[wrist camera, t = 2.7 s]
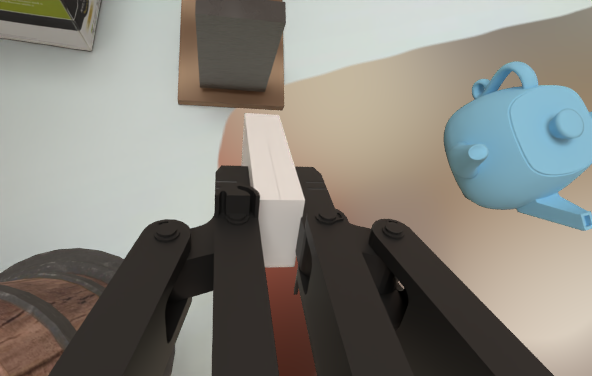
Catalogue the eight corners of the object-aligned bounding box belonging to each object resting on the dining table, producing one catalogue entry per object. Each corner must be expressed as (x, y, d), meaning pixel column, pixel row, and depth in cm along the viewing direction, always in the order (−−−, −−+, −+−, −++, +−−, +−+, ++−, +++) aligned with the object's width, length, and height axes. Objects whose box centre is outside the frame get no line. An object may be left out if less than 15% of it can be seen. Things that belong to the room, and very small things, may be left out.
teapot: (510, 254, 42) (614, 248, 31) (402, 184, 41) (471, 152, 30) (556, 140, 46) (662, 100, 35) (460, 74, 45) (538, 12, 35)
